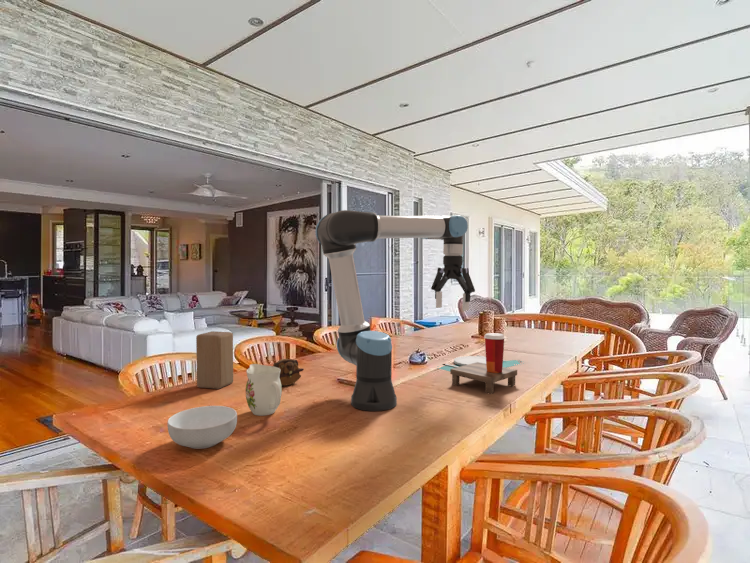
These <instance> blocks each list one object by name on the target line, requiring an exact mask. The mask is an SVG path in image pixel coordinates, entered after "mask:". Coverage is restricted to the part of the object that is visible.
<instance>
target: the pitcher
mask: <svg viewBox="0 0 750 563" xmlns="http://www.w3.org/2000/svg"><path fill="white" fill-rule="evenodd" d="M280 371H281V369H280V368H277V367H274V366H273V365H265V364H260V363H259V364H258V363H251V364H249V367H248V368H247V369H246V376H247V381H246V385H245V399H246V404H247V405H248V408H249V410H250V411H251V412H252V414H253V415H255V416H260V417H262V416H269V415H273V414H274V413H275V412H276V410H277V409H278V408H279V407H280V405H281V399H282V393H283V390H282V389H283V385H281V381H280V378H279V376H280Z"/></svg>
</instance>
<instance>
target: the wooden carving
mask: <svg viewBox="0 0 750 563" xmlns="http://www.w3.org/2000/svg"><path fill="white" fill-rule="evenodd" d="M272 366H274V367H277V368H280V369H281V371H280V376H279V378H280V381H281V385H282V386H284V387H285V386H290V385H293V384H295V383H296V382H298V381H299V379H301V377H302V375H301V374H300V372H303V371H304V370H305V369H304V368H301V367H300V368H299V362H298V360H297V359H291V358H282V359H279V360H278V361H277V362H273V364H272Z"/></svg>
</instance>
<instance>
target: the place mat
mask: <svg viewBox="0 0 750 563" xmlns="http://www.w3.org/2000/svg"><path fill="white" fill-rule="evenodd" d="M518 361H519V362H520V361H521V360H516V359H514V360H513V359H512V360H506V359H503V367H505V368H511V367H515V366H519V365H521V364H520V363H519V362H518ZM476 362H479V363H485V364H486V355H485V356H484V355H466V356H465V355H464V356H459V357H458V356H457V357H455V358H453V364H448V363H446V364H445V365H442V366H443V367H441V368H439V370H442V371H446V372H450V369H452V368H456V367H460V366H464V365H468V364H472V363H476ZM521 362H522V361H521ZM514 364H515V365H514ZM516 364H517V365H516ZM518 364H519V365H518Z"/></svg>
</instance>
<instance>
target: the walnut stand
mask: <svg viewBox="0 0 750 563" xmlns="http://www.w3.org/2000/svg"><path fill="white" fill-rule="evenodd" d="M449 372H450V375H451V385H454V386H460V378H461V377H462V378H466V379H469V380H475V381H479V382H483V383H485V393H486V394H488V393H489V395H492V394H494V383H497V382H500V381H503V380H506V379H507V386H509V385H511V386H510V387H515V386H516V376H518V369H515V368H511V367H507V368H505V367H502V372H501V373H491V372H487V367H486V364H485V363H479V362H476V363H472V364H468V365H464V366H460V367H456V368H452V369H450V371H449ZM514 385H515V386H514ZM491 393H492V394H491Z"/></svg>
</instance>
